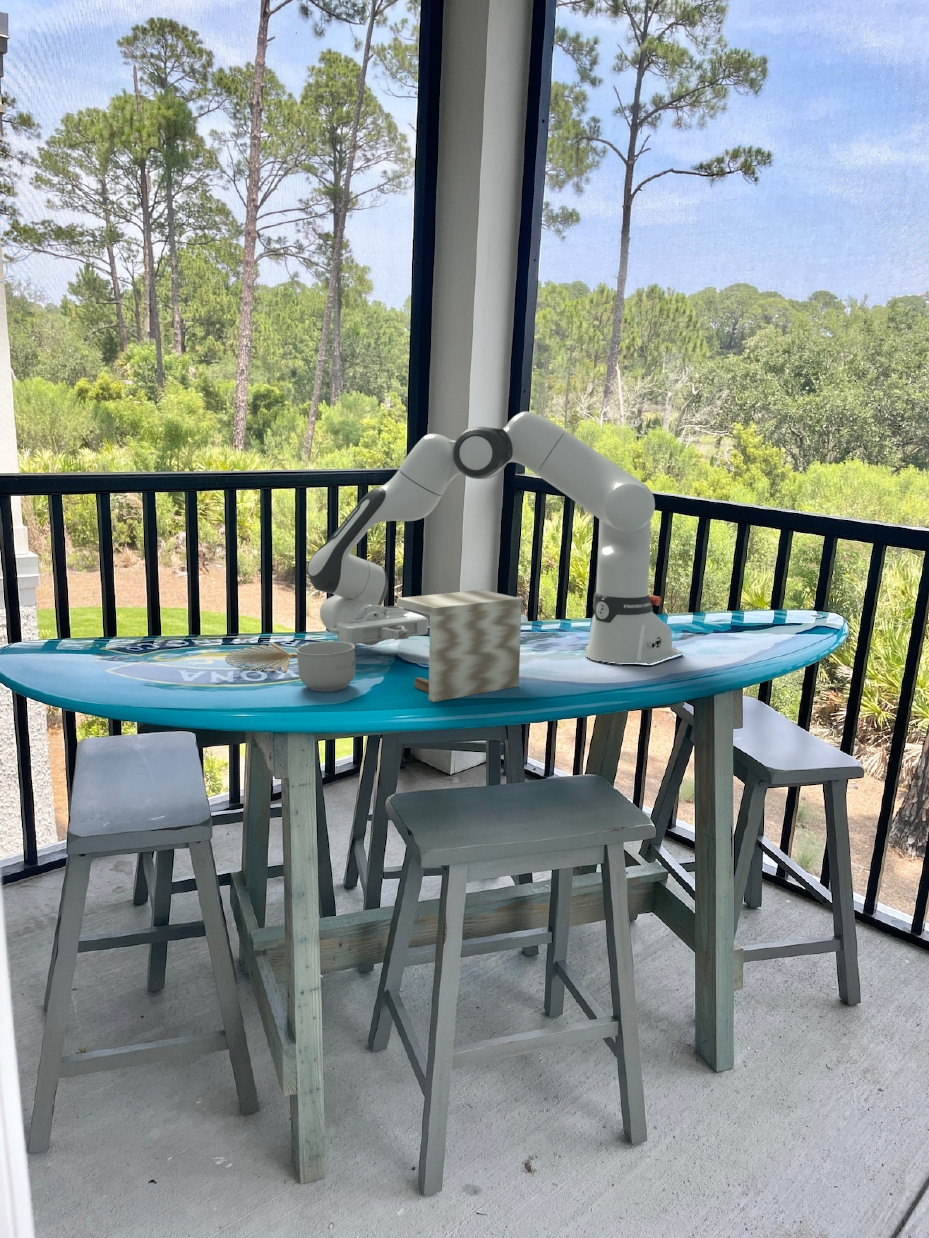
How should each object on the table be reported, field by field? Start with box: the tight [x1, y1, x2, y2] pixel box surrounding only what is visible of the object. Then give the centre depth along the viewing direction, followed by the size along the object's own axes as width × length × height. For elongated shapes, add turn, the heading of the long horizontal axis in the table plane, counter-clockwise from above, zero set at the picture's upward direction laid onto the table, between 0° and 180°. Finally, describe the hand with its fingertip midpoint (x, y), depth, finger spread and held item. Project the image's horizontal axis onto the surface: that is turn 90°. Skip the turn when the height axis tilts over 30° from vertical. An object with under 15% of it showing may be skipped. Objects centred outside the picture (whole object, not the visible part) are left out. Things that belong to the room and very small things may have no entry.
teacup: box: [295, 639, 356, 693], centre depth 168 cm, size 14×11×8 cm
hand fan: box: [225, 642, 297, 673], centre depth 189 cm, size 26×1×15 cm
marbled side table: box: [396, 589, 523, 703], centre depth 168 cm, size 20×12×17 cm, turn 127°
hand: (403, 635), depth 183 cm, fingers closed
